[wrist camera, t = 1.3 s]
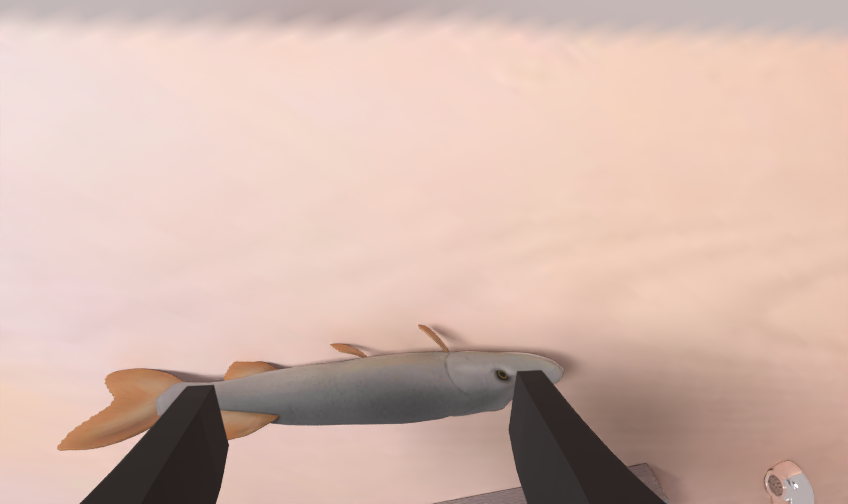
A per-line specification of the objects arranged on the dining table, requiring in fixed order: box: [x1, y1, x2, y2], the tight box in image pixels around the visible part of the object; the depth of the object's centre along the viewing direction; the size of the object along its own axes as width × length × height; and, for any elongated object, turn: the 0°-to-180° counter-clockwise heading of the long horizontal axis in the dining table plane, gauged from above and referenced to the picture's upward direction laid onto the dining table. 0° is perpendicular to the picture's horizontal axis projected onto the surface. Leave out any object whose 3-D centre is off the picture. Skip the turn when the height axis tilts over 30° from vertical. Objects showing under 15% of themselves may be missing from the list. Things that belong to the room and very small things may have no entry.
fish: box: [57, 325, 564, 451], centre depth 23 cm, size 4×21×5 cm, turn 89°
